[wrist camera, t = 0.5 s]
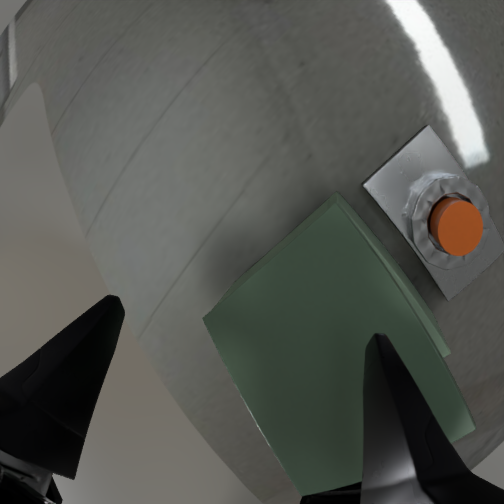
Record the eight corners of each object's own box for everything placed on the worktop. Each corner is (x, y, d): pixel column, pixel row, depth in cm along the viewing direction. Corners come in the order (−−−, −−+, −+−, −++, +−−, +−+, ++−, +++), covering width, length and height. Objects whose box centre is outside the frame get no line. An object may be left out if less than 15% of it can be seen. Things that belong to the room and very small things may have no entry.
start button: (480, 226, 16) (491, 233, 14) (446, 258, 17) (454, 266, 16) (456, 186, 16) (466, 189, 14) (420, 219, 17) (428, 225, 16)
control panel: (500, 244, 18) (517, 256, 15) (444, 295, 21) (454, 312, 18) (424, 125, 17) (436, 121, 14) (360, 183, 20) (364, 188, 17)
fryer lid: (475, 422, 9) (476, 429, 9) (306, 490, 14) (300, 496, 14) (340, 205, 15) (335, 201, 15) (209, 317, 20) (201, 318, 20)
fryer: (433, 313, 21) (451, 353, 16) (332, 378, 26) (326, 422, 21) (337, 190, 21) (337, 202, 16) (234, 281, 26) (208, 314, 20)
